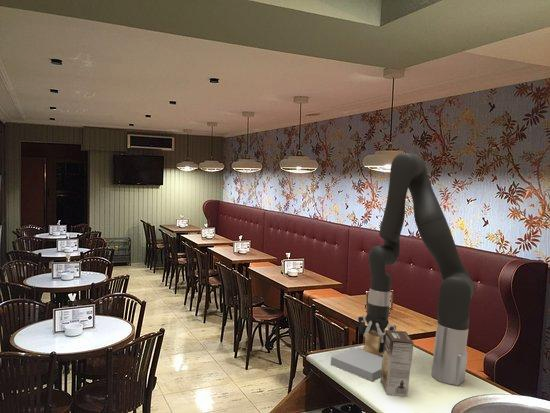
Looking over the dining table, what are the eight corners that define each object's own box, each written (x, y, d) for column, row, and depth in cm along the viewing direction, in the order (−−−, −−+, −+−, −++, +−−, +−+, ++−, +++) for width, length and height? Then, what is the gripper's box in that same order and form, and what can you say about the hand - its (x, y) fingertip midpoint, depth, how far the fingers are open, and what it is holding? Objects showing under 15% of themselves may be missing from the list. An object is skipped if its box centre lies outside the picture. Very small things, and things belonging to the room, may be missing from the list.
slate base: (393, 369, 145) (393, 361, 145) (372, 381, 134) (372, 373, 134) (353, 354, 155) (353, 347, 155) (330, 364, 144) (331, 356, 144)
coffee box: (379, 380, 136) (384, 329, 135) (400, 382, 136) (405, 331, 134) (386, 395, 126) (392, 340, 125) (408, 397, 126) (414, 342, 125)
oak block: (383, 354, 157) (385, 334, 156) (376, 357, 153) (378, 337, 152) (370, 349, 160) (372, 330, 160) (363, 353, 156) (365, 333, 156)
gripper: (402, 305, 153) (397, 353, 155) (366, 295, 163) (361, 341, 164) (392, 309, 148) (387, 359, 149) (355, 298, 157) (350, 345, 158)
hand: (373, 349), depth 156 cm, fingers closed on oak block, 5 cm apart
